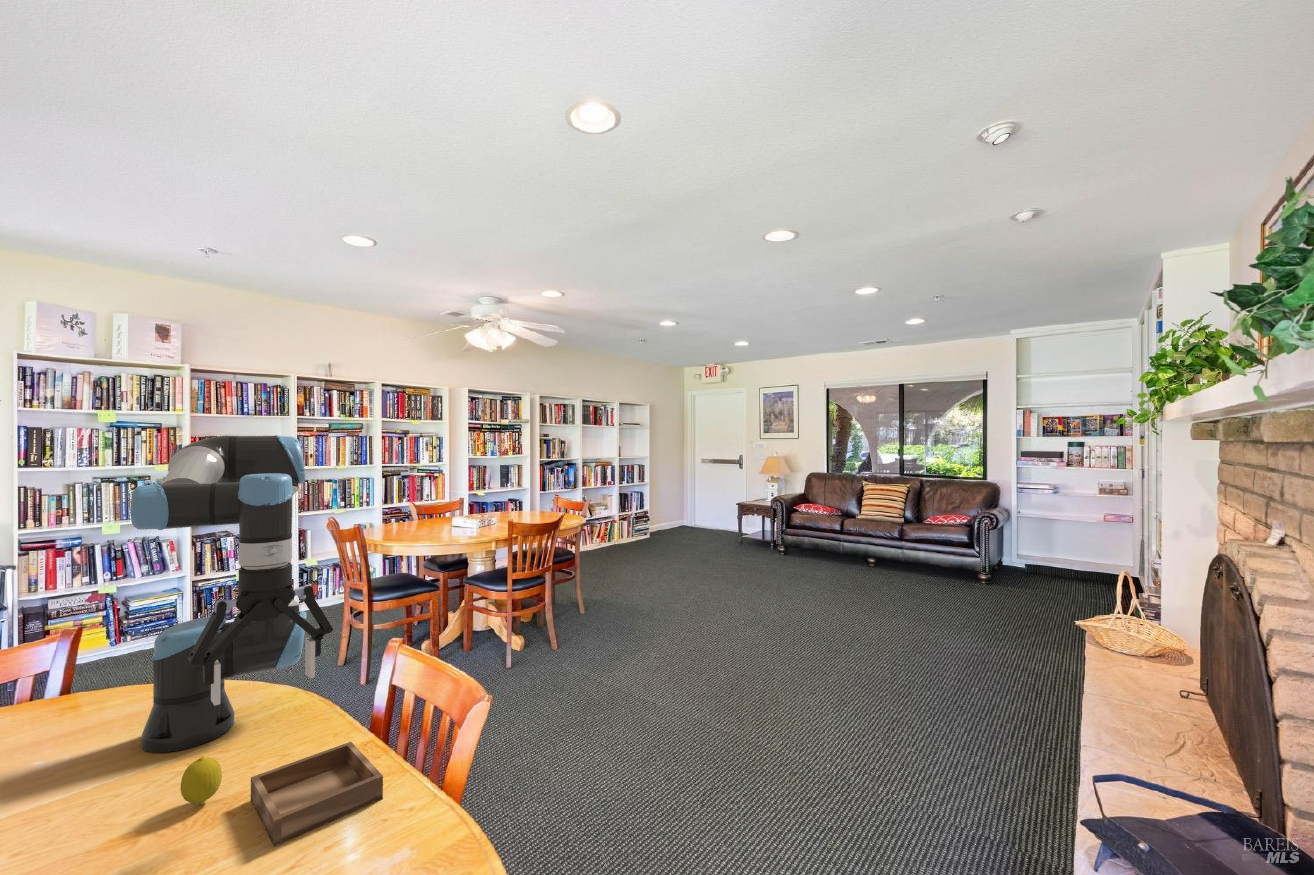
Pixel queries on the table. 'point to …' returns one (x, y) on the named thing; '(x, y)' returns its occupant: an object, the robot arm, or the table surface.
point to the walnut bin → (314, 791)
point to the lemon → (201, 780)
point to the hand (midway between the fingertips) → (265, 688)
